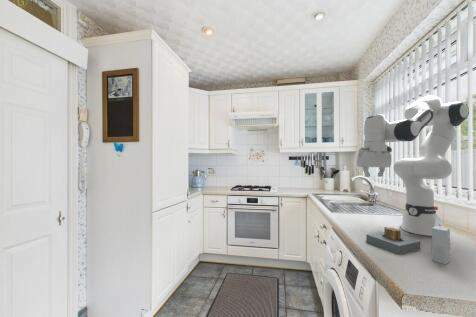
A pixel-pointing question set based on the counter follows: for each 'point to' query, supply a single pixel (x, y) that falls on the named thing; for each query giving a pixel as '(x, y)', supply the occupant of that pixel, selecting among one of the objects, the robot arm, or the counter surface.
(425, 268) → the counter surface
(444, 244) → the skincare box
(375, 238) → the slate socket block
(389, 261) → the counter surface
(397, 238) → the brown wooden block
